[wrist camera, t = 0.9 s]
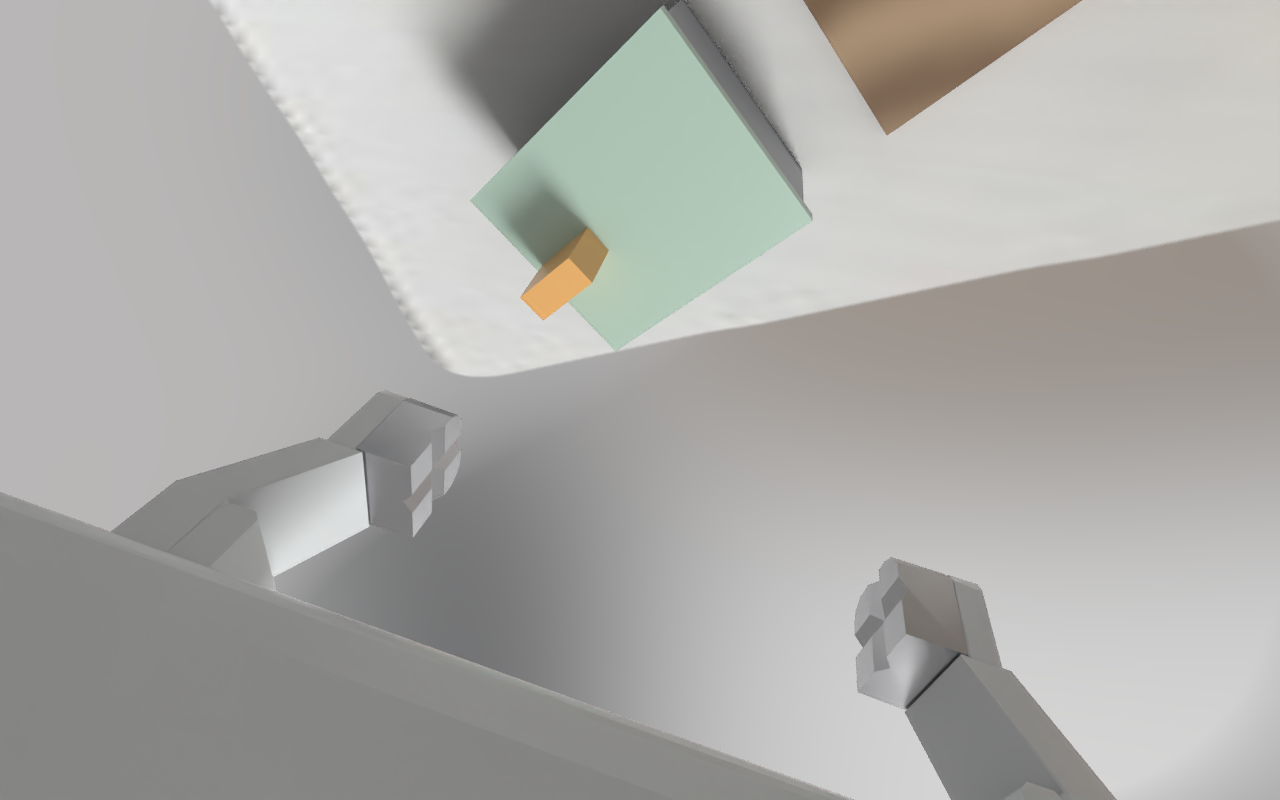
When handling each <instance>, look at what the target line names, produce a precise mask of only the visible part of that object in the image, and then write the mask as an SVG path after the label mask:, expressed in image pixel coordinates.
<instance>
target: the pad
mask: <svg viewBox="0 0 1280 800" xmlns="http://www.w3.org/2000/svg"><path fill="white" fill-rule="evenodd" d="M1080 1H1082V0H804V2H805V3H806V5H807V6H808V8H809V10H810V11H811V13H812V15H813V16H814V18H815V19H816V21H817V23H818V24H819V26H820V28H821V29H822V31H823V32H824V34H825V36H826V37H827V39H828V41H829V42H830V44H831V45H832V47H833V49H834V50H835V52H836V54H837V55H838V57H839V58H840V60H841V62H842V63H843V65H844V67H845V68H846V70H847V71H848V73H849V75H850V76H851V78H852V80H853V81H854V83H855V84H856V86H857V88H858V89H859V91H860V93H861V94H862V96H863V97H864V99H865V101H866V102H867V104H868V106H869V107H870V109H871V110H872V112H873V114H874V115H875V117H876V119H877V120H878V122H879V124H880V125H881V127H882V128H883V130H884V132H885V133H886V135H889V134H890V133H891V132H893V131H894V130H896V129H897V128H899V127H900V126H902V125H903V124H904V123H906V122H907V121H909V120H910V119H912V118H913V117H914V116H916V115H917V114H919V113H920V112H922V111H923V110H925V109H926V108H927V107H929V106H930V105H932V104H933V103H935V102H936V101H938V100H939V99H940V98H942V97H943V96H945V95H946V94H948V93H949V92H951V91H952V90H953V89H955V88H956V87H958V86H959V85H961V84H962V83H963V82H965V81H966V80H968V79H969V78H971V77H972V76H974V75H975V74H976V73H978V72H979V71H981V70H982V69H984V68H985V67H987V66H988V65H989V64H991V63H992V62H994V61H995V60H997V59H998V58H1000V57H1001V56H1002V55H1004V54H1005V53H1007V52H1008V51H1010V50H1011V49H1012V48H1014V47H1015V46H1017V45H1018V44H1020V43H1021V42H1023V41H1024V40H1025V39H1027V38H1028V37H1030V36H1031V35H1033V34H1034V33H1036V32H1037V31H1038V30H1040V29H1041V28H1043V27H1044V26H1046V25H1047V24H1049V23H1050V22H1051V21H1053V20H1054V19H1056V18H1057V17H1059V16H1060V15H1061V14H1063V13H1064V12H1066V11H1067V10H1069V9H1070V8H1072V7H1073V6H1074V5H1076V4H1077V3H1079V2H1080Z"/></svg>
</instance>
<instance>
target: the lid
mask: <svg viewBox="0 0 1280 800" xmlns="http://www.w3.org/2000/svg"><path fill="white" fill-rule="evenodd" d="M470 201H471V202H472V203H473V204H474V205H475V206H476V207H477V208H478V209H479V210H480V211H481V212H482V213H483V214H484V216H485V217H486V218H487V219H488V220H489V221H490V222H491V223H492V224H493V225H494V226H495V227H496V228H497V229H498V230H499V231H500V232H501V233H502V234H503V235H504V236H505V237H506V238H507V239H508V240H509V241H510V242H511V243H512V244H513V246H514V247H515V248H516V249H517V250H518V251H519V252H520V253H521V254H522V255H523V256H524V257H525V258H526V259H527V260H528V261H529V262H530V263H531V264H532V265H533V266H534V267H535V268H536V269H537V270H538V272H537V274H536V275H535V277H534V278H533V280H532V281H531V282H530V284H529V285H528V287H527V288H526V290H525V291H524V293H523V294H522V296H521V297H520V298H521V299H522V300H523V301H524V302H525V303H526V304H527V305H528V306H529V307H530V308H531V309H532V310H533V311H534V312H535V313H536V314H537V315H538V316H539V317H540V318H541V319H542V320H544V319H546V318H547V317H548V316H550V315H551V314H552V313H554V312H555V311H556V310H557V309H559V308H560V307H561V306H563V305H564V304H565V303H567V302H569V303H570V304H571V305H572V306H573V308H574V309H575V310H576V311H577V312H578V313H579V314H580V315H581V316H582V317H583V318H584V319H585V320H586V321H587V322H588V323H589V324H590V325H591V326H592V327H593V328H594V329H595V330H596V331H597V332H598V333H599V334H600V335H601V336H602V337H603V339H604V340H605V341H606V342H607V343H608V344H609V345H610V346H611V347H612V348H613V349H614V350H615V351H617V350H618V349H620V348H621V347H623V346H624V345H626V344H627V343H629V342H630V341H632V340H633V339H635V338H636V337H638V336H639V335H641V334H642V333H644V332H645V331H647V330H648V329H650V328H651V327H653V326H654V325H656V324H657V323H659V322H660V321H662V320H663V319H665V318H666V317H668V316H669V315H671V314H673V313H674V312H676V311H677V310H679V309H680V308H682V307H683V306H685V305H686V304H688V303H689V302H691V301H692V300H694V299H695V298H697V297H698V296H700V295H701V294H703V293H704V292H706V291H707V290H709V289H710V288H712V287H713V286H715V285H716V284H718V283H719V282H721V281H722V280H724V279H725V278H727V277H728V276H730V275H731V274H733V273H734V272H736V271H737V270H739V269H741V268H742V267H744V266H745V265H747V264H748V263H750V262H751V261H753V260H754V259H756V258H757V257H759V256H760V255H762V254H763V253H765V252H766V251H768V250H769V249H771V248H772V247H774V246H775V245H777V244H778V243H780V242H781V241H783V240H784V239H786V238H787V237H789V236H790V235H792V234H793V233H795V232H796V231H798V230H799V229H801V228H802V227H804V226H805V225H807V224H809V223H810V222H812V213H811V212H810V210H809V209H808V207H807V206H806V205H805V203H804V202H803V200H802V199H801V198H800V196H799V195H798V193H797V192H796V190H795V189H794V188H793V186H792V185H791V183H790V182H789V181H788V179H787V178H786V176H785V175H784V174H783V172H782V171H781V169H780V168H779V167H778V165H777V164H776V162H775V161H774V160H773V158H772V157H771V155H770V154H769V153H768V151H767V150H766V148H765V147H764V145H763V144H762V143H761V141H760V140H759V138H758V137H757V136H756V134H755V133H754V131H753V130H752V129H751V127H750V126H749V124H748V123H747V122H746V120H745V119H744V117H743V116H742V115H741V113H740V112H739V110H738V109H737V107H736V106H735V105H734V103H733V102H732V100H731V99H730V98H729V96H728V95H727V93H726V92H725V91H724V89H723V88H722V86H721V85H720V84H719V82H718V81H717V79H716V78H715V77H714V75H713V74H712V72H711V71H710V70H709V68H708V67H707V65H706V64H705V62H704V61H703V60H702V58H701V57H700V55H699V54H698V53H697V51H696V50H695V48H694V47H693V46H692V44H691V43H690V41H689V40H688V39H687V37H686V36H685V34H684V33H683V32H682V30H681V29H680V27H679V26H678V25H677V23H676V22H675V20H674V19H673V17H672V16H671V15H670V13H669V12H668V10H667V9H666V8H665V6H664V5H663V6H662V7H660V8H659V9H658V10H657V11H656V12H655V13H654V14H653V15H652V16H651V18H650V19H649V20H648V21H647V22H646V23H645V24H644V25H643V26H642V27H641V28H640V29H639V30H638V31H637V32H636V33H635V34H634V35H633V36H632V37H631V38H630V39H629V40H628V41H627V42H626V43H625V44H624V45H623V46H622V47H621V48H620V49H619V50H618V51H617V52H616V53H615V54H614V55H613V56H612V57H611V58H610V59H609V60H608V61H607V62H606V63H605V64H604V65H603V66H602V67H601V68H600V69H599V70H598V71H597V72H596V73H595V74H594V75H593V76H592V77H591V78H590V79H589V80H588V81H587V83H586V84H585V85H584V86H583V87H582V88H581V89H580V90H579V91H578V92H577V93H576V94H575V95H574V96H573V97H572V98H571V99H570V100H569V101H568V102H567V103H566V104H565V105H564V106H563V107H562V108H561V109H560V110H559V111H558V112H557V113H556V114H555V115H554V116H553V117H552V118H551V119H550V120H549V121H548V122H547V123H546V124H545V125H544V126H543V127H542V128H541V129H540V130H539V131H538V132H537V133H536V134H535V135H534V136H533V137H532V138H531V139H530V140H529V141H528V142H527V143H526V144H525V145H524V146H523V148H522V149H521V150H520V151H519V152H518V153H517V154H516V155H515V156H514V157H513V158H512V159H511V160H510V161H509V162H508V163H507V164H506V165H505V166H504V167H503V168H502V169H501V170H500V171H499V172H498V173H497V174H496V175H495V176H494V177H493V178H492V179H491V180H490V181H489V182H488V183H487V184H486V185H485V186H484V187H483V188H482V189H481V190H480V191H479V192H478V193H477V194H476V195H475V196H474V197H473V198H472V199H471V200H470Z"/></svg>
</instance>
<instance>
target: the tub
mask: <svg viewBox="0 0 1280 800" xmlns="http://www.w3.org/2000/svg"><path fill="white" fill-rule="evenodd" d="M668 12H669V13H670V15H671V16H672V17H673V19H674V20H675V22H676V23H677V25H678V26H679V27H680V29H681V30H682V32H683V33H684V34H685V36H686V37H687V39H688V40H689V41H690V43H691V44H692V46H693V47H694V48H695V50H696V51H697V53H698V54H699V55H700V57H701V58H702V60H703V61H704V62H705V64H706V65H707V67H708V68H709V70H710V71H711V72H712V74H713V75H714V77H715V78H716V79H717V81H718V82H719V84H720V85H721V86H722V88H723V89H724V91H725V92H726V93H727V95H728V96H729V98H730V99H731V100H732V102H733V103H734V105H735V106H736V107H737V109H738V110H739V112H740V113H741V115H742V116H743V117H744V119H745V120H746V122H747V123H748V124H749V126H750V127H751V129H752V130H753V131H754V133H755V134H756V136H757V137H758V138H759V140H760V141H761V143H762V144H763V145H764V147H765V148H766V150H767V151H768V153H769V154H770V155H771V157H772V158H773V160H774V161H775V162H776V164H777V165H778V167H779V168H780V169H781V171H782V172H783V174H784V175H785V176H786V178H787V179H788V181H789V182H790V183H791V185H792V186H793V188H794V189H795V190H796V192H797V193H798V195H799V196H800V198H801V199H802V200H803V179H802V169H801V168H800V166H799V165H798V163H797V162H796V161H795V159H794V158H793V156H792V155H791V153H790V152H789V151H788V149H787V148H786V146H785V145H784V143H783V142H782V140H781V139H780V138H779V136H778V135H777V133H776V132H775V130H774V129H773V128H772V126H771V125H770V123H769V122H768V120H767V119H766V117H765V116H764V115H763V113H762V112H761V110H760V109H759V107H758V106H757V104H756V103H755V102H754V100H753V99H752V97H751V96H750V94H749V93H748V92H747V90H746V89H745V87H744V86H743V84H742V83H741V81H740V80H739V79H738V77H737V76H736V74H735V73H734V71H733V70H732V69H731V67H730V66H729V64H728V63H727V61H726V60H725V58H724V57H723V56H722V54H721V53H720V51H719V50H718V48H717V47H716V46H715V44H714V43H713V41H712V40H711V38H710V37H709V35H708V34H707V33H706V31H705V30H704V28H703V27H702V25H701V24H700V22H699V21H698V20H697V18H696V17H695V15H694V14H693V12H692V11H691V10H690V8H689V7H688V5H687V4H686V2H685V1H684V0H680V1H679V2H678V3H677V4H675V5H674V6H673V7H672V8H671V9H670V10H669V11H668ZM803 202H804V201H803Z"/></svg>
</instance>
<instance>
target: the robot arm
mask: <svg viewBox="0 0 1280 800" xmlns="http://www.w3.org/2000/svg"><path fill="white" fill-rule="evenodd" d="M461 432H462V418H461V417H460V416H458V415H456V414H454V413H451V412H448V411H445V410H443V409H440V408H437V407H434V406H431V405H428V404H425V403H423V402H420V401H417V400H414V399H412V398H406V397H404V396H401V395H399V394H396V393H393V392H390V391H388V390H384V391H381V392H378V393H377V394H376V395H375V396H374V397H372V398H371V399H370V400H369V401H368V402H367V403H366V404H365V405H364V406H363V407H362V408H361V409H360V410H359V411H358V412H356V413H355V414H354V415H353V416H352V417H351V418H350V419H349V420H348V421H347V422H346V423H345V424H344V425H343V426H341V427H340V428H339V429H338V430H337V431H336V432H335V433H334V434H333V435H332V436H331V437H330V438H329V439H327V440H326V439H322V438H317V439H313V440H310V441H307V442H304V443H300V444H297V445H293V446H290V447H287V448H283V449H280V450H277V451H273V452H270V453H267V454H264V455H260V456H257V457H254V458H250V459H247V460H243V461H240V462H237V463H234V464H230V465H227V466H223V467H220V468H217V469H213V470H210V471H207V472H204V473H200V474H197V475H194V476H190V477H187V478H184V479H180V480H177V481H175V482H174V483H173V484H171V485H170V486H169V487H167V488H166V489H165V490H164V491H162V492H161V493H160V494H158V495H157V496H156V497H155V498H153V499H152V500H151V501H149V502H148V503H147V504H146V505H144V506H143V507H142V508H141V509H139V510H138V511H137V512H135V513H134V514H133V515H131V516H130V517H129V518H128V519H126V520H125V521H124V522H123V523H121V524H120V525H119V526H118V527H116V528H115V529H114V530H112V531H111V532H110V531H107V530H104V529H101V528H98V527H96V526H93V525H90V524H87V523H85V522H82V521H79V520H76V519H74V518H71V517H68V516H65V515H62V514H60V513H57V512H54V511H51V510H49V509H46V508H43V507H40V506H37V505H34V504H32V503H29V502H26V501H24V500H21V499H18V498H15V497H12V496H9V495H7V494H4V493H1V492H0V800H854V799H851V798H848V797H845V796H842V795H840V794H837V793H834V792H831V791H829V790H826V789H823V788H820V787H818V786H815V785H812V784H809V783H806V782H804V781H801V780H798V779H795V778H793V777H790V776H787V775H784V774H781V773H778V772H776V771H773V770H770V769H767V768H765V767H762V766H759V765H756V764H753V763H751V762H748V761H745V760H742V759H739V758H737V757H734V756H731V755H728V754H726V753H723V752H720V751H717V750H714V749H712V748H709V747H706V746H703V745H701V744H698V743H695V742H692V741H690V740H687V739H684V738H681V737H678V736H676V735H673V734H670V733H667V732H665V731H662V730H659V729H656V728H653V727H651V726H648V725H645V724H642V723H639V722H637V721H634V720H631V719H628V718H626V717H623V716H620V715H617V714H614V713H612V712H609V711H606V710H603V709H601V708H598V707H595V706H592V705H589V704H587V703H584V702H581V701H578V700H576V699H573V698H570V697H567V696H565V695H562V694H559V693H556V692H553V691H551V690H548V689H545V688H542V687H539V686H537V685H534V684H531V683H528V682H526V681H523V680H520V679H517V678H515V677H512V676H509V675H506V674H503V673H501V672H498V671H495V670H492V669H490V668H487V667H484V666H481V665H479V664H476V663H473V662H470V661H467V660H465V659H462V658H459V657H456V656H454V655H450V654H448V653H445V652H442V651H440V650H437V649H434V648H431V647H429V646H426V645H423V644H420V643H417V642H415V641H412V640H409V639H406V638H404V637H401V636H398V635H395V634H393V633H390V632H387V631H384V630H381V629H379V628H376V627H373V626H370V625H368V624H365V623H362V622H359V621H356V620H354V619H351V618H348V617H345V616H342V615H340V614H337V613H334V612H331V611H329V610H326V609H323V608H320V607H318V606H315V605H312V604H309V603H306V602H304V601H301V600H298V599H295V598H293V597H290V596H287V595H284V594H281V593H279V592H277V590H276V586H275V583H274V579H273V577H274V576H276V575H278V574H280V573H282V572H283V571H285V570H287V569H289V568H291V567H293V566H295V565H297V564H299V563H301V562H303V561H304V560H306V559H308V558H310V557H312V556H314V555H316V554H318V553H320V552H322V551H324V550H325V549H327V548H329V547H331V546H333V545H335V544H337V543H339V542H341V541H343V540H344V539H346V538H348V537H350V536H352V535H354V534H356V533H358V532H360V531H362V530H363V529H366V528H367V527H369V524H371V525H374V526H377V527H381V528H384V529H387V530H390V531H393V532H396V533H400V534H403V535H406V536H409V537H412V538H413V537H414V536H415V534H416V533H417V532H418V530H419V529H420V527H421V526H422V525H423V523H424V522H425V521H426V519H427V518H428V517H429V515H430V514H431V513H432V500H434V499H436V498H439V497H441V496H444V495H445V493H446V492H447V490H448V489H449V487H450V486H451V485H452V482H453V480H454V478H455V476H456V474H457V471H458V468H459V463H460V458H461V449H460V447H459V446H458V444H457V442H456V441H455V440H456V439H457V437H458V436H459V435H460V433H461ZM879 576H880V577H879V578H880V581H879V582H875V583H873V584H870V585H868V586H867V588H866V589H865V591H864V592H863V594H862V595H861V597H860V600H859V603H858V606H857V609H856V615H855V636H856V637H857V639H858V640H859V642H860V644H861V645H862V647H863V649H862V650H861V651H860V653H859V654H858V655H857V657H856V667H857V688H858V692H859V693H862V694H864V695H867V696H870V697H872V698H875V699H878V700H881V701H883V702H886V703H888V704H891V705H894V706H896V707H899V708H902V709H904V710H906V711H905V713H906V715H907V717H908V719H909V721H910V723H911V725H912V726H913V729H914V731H915V732H916V734H917V736H918V738H919V740H920V742H921V744H922V746H923V747H924V749H925V751H926V753H927V755H928V757H929V759H930V761H931V763H932V764H933V766H934V768H935V770H936V772H937V774H938V776H939V778H940V780H941V781H942V783H943V785H944V787H945V789H946V791H947V793H948V795H949V797H950V798H951V800H1116V798H1115V797H1114V796H1113V795H1112V794H1111V792H1110V791H1109V790H1108V789H1107V787H1106V786H1105V785H1104V784H1103V783H1102V781H1101V780H1100V779H1099V778H1098V777H1097V776H1096V774H1095V773H1094V772H1093V770H1092V769H1091V768H1090V767H1089V766H1088V764H1087V763H1086V762H1085V761H1084V759H1083V758H1082V757H1081V756H1080V755H1079V753H1078V752H1077V751H1076V750H1075V749H1074V747H1073V746H1072V745H1071V744H1070V742H1069V741H1068V740H1067V739H1066V738H1065V736H1064V735H1063V734H1062V733H1061V731H1060V730H1059V729H1058V728H1057V726H1056V725H1055V724H1054V723H1053V722H1052V720H1051V719H1050V718H1049V717H1048V716H1047V714H1046V713H1045V712H1044V711H1043V709H1042V708H1041V707H1040V706H1039V705H1038V703H1037V702H1036V701H1035V700H1034V698H1033V697H1032V696H1031V695H1030V694H1029V692H1028V691H1027V690H1026V689H1025V687H1024V686H1023V685H1022V684H1021V683H1020V681H1019V680H1018V679H1017V678H1016V677H1015V675H1014V674H1013V673H1012V672H1011V671H1009V670H1006V669H1004V668H1002V665H1001V661H1000V657H999V653H998V650H997V646H996V642H995V638H994V634H993V631H992V627H991V623H990V619H989V615H988V612H987V608H986V604H985V600H984V596H983V593H982V590H981V588H980V587H979V586H978V585H977V584H975V583H972V582H968V581H964V580H962V579H959V578H956V577H952V576H949V575H945V574H942V573H939V572H936V571H933V570H930V569H927V568H923V567H920V566H917V565H914V564H911V563H908V562H905V561H902V560H899V559H895V558H892V557H891V558H889V559H888V560H886V561H885V562H884V564H883V565H882V566H881V568H880V569H879Z"/></svg>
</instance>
